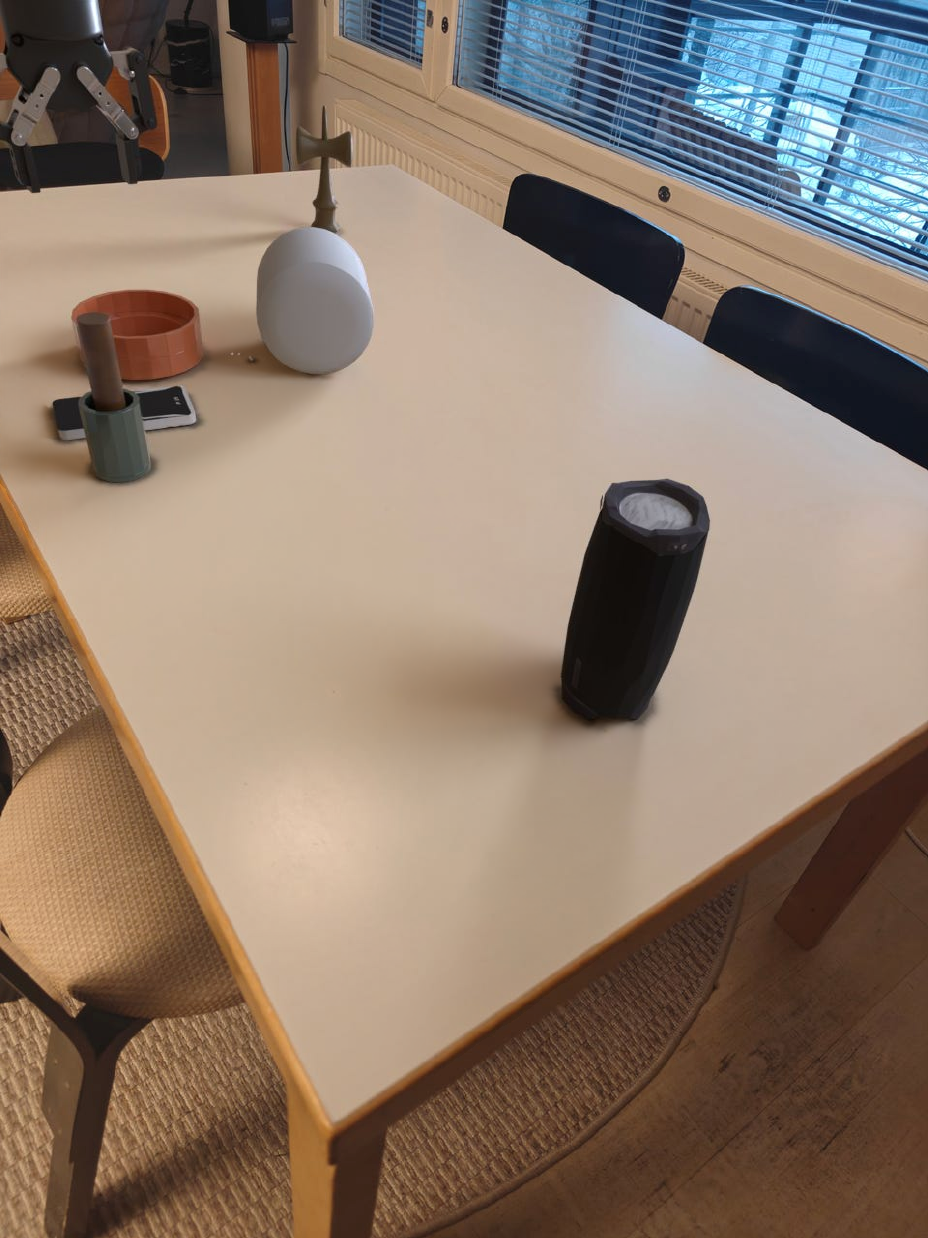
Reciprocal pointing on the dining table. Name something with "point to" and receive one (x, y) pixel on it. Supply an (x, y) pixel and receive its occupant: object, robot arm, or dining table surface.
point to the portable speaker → (632, 596)
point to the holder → (116, 439)
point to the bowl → (148, 331)
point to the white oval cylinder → (313, 301)
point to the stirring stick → (101, 361)
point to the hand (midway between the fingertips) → (82, 186)
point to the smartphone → (156, 406)
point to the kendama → (324, 168)
